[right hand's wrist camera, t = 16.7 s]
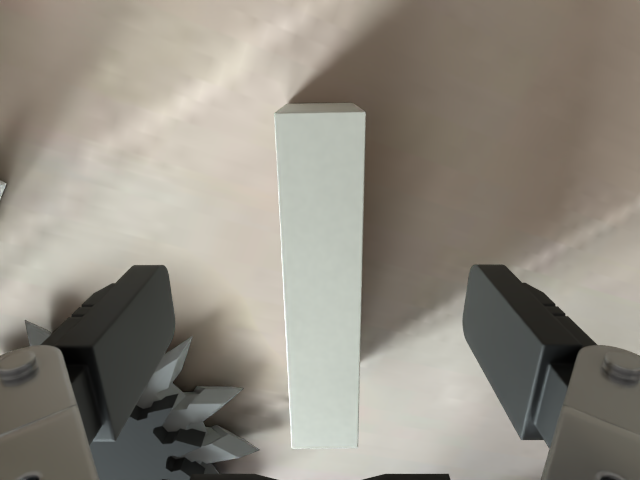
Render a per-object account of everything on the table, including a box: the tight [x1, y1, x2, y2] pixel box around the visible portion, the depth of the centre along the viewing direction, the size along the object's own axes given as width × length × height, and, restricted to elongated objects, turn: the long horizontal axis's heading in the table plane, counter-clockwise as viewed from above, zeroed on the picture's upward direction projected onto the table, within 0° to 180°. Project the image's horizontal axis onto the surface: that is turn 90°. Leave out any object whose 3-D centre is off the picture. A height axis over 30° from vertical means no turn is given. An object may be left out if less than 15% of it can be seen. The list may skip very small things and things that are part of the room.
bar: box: [274, 103, 366, 449], centre depth 32 cm, size 25×5×10 cm, turn 1°
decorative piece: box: [25, 320, 259, 480], centre depth 42 cm, size 30×4×30 cm
